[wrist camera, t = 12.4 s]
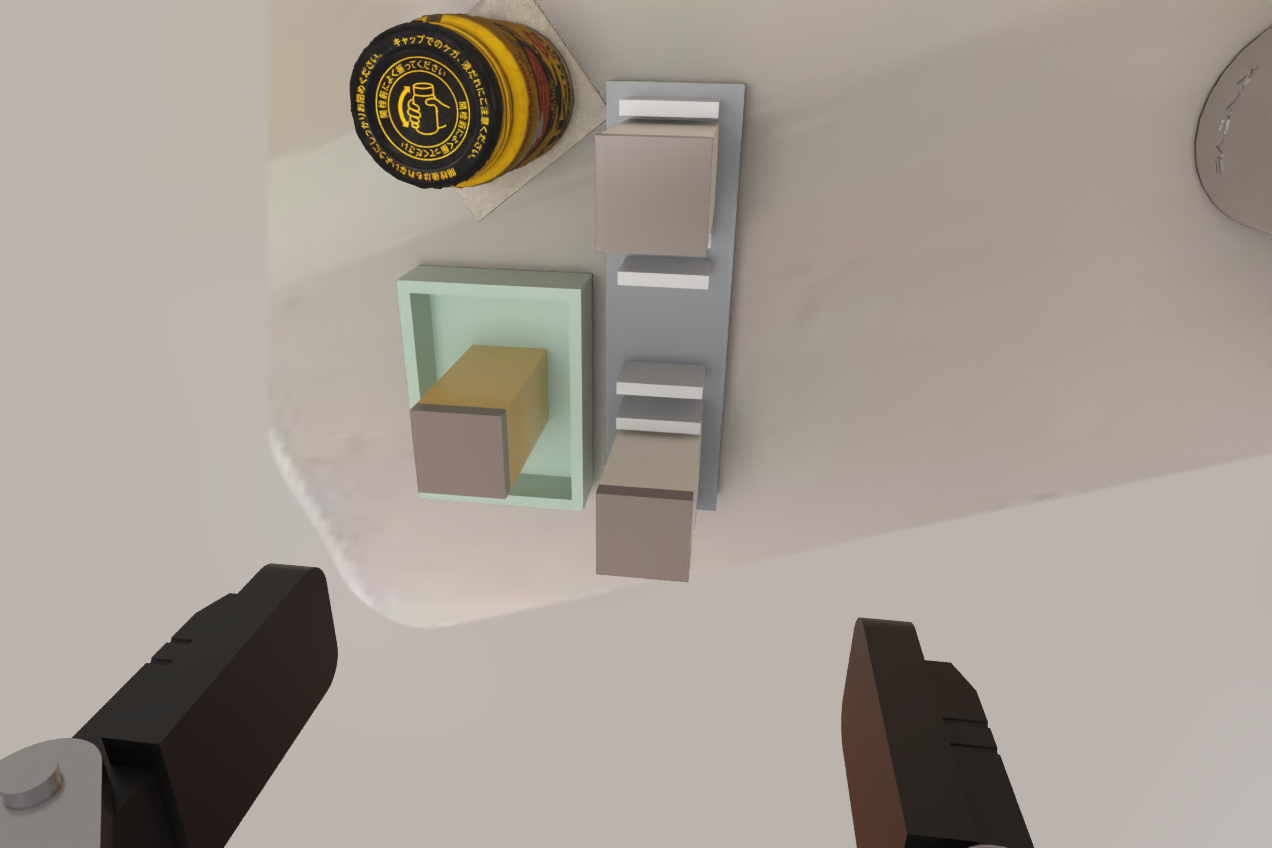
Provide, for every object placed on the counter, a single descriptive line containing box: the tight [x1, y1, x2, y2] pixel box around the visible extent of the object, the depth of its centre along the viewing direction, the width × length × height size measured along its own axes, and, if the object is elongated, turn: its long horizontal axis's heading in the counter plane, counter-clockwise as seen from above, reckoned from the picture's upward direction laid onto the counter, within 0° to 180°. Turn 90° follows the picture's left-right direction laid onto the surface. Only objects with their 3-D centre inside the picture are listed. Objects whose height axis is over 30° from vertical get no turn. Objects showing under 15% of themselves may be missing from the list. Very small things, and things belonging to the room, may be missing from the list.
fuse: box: [410, 345, 549, 499], centre depth 39 cm, size 4×4×9 cm
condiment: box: [350, 0, 606, 221], centre depth 33 cm, size 7×8×12 cm
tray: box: [396, 265, 593, 511], centre depth 42 cm, size 9×12×3 cm
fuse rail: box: [595, 80, 745, 582], centre depth 36 cm, size 6×21×11 cm, turn 179°
